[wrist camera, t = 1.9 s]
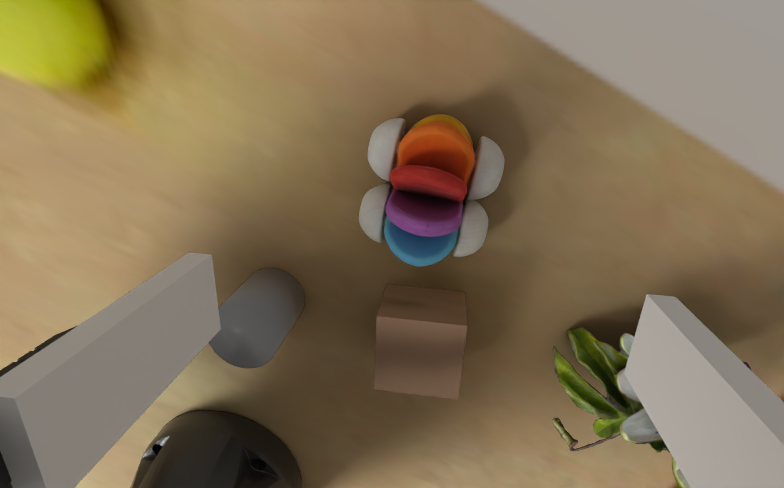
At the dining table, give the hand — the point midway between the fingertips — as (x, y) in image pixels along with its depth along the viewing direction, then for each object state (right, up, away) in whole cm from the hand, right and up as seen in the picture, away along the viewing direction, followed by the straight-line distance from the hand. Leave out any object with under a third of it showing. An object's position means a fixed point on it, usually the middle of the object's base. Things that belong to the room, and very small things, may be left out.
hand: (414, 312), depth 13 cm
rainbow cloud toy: (+2, +6, +17) cm, 18 cm away
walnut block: (+2, -4, +21) cm, 21 cm away
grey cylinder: (-10, -2, +21) cm, 24 cm away
